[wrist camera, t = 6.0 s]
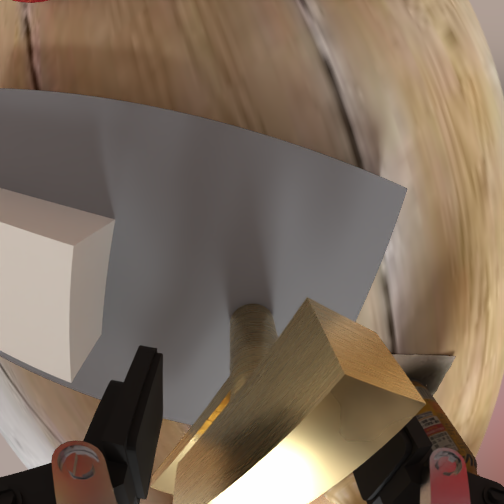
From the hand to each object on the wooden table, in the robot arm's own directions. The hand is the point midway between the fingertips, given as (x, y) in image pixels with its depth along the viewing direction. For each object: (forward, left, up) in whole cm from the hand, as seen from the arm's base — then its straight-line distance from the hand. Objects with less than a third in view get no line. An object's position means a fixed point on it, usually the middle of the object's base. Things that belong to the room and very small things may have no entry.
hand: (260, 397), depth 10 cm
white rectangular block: (0, +12, -5) cm, 13 cm away
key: (-2, +1, -5) cm, 5 cm away
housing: (0, +7, -8) cm, 10 cm away
